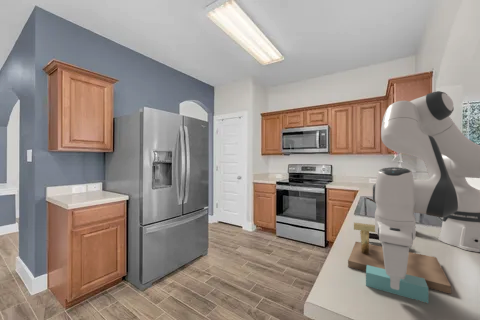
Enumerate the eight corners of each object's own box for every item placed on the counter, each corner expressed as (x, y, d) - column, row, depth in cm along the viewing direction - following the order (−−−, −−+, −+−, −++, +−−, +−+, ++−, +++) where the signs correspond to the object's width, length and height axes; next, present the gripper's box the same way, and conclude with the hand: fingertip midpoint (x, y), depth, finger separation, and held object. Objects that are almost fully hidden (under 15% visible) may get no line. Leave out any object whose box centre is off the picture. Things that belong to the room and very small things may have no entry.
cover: (424, 293, 55) (424, 278, 55) (428, 304, 51) (428, 288, 51) (366, 278, 62) (366, 264, 62) (365, 286, 58) (365, 272, 58)
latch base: (436, 263, 71) (436, 257, 71) (451, 293, 54) (451, 286, 54) (355, 246, 84) (355, 241, 84) (348, 266, 68) (348, 260, 68)
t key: (353, 243, 82) (353, 218, 82) (374, 246, 79) (374, 220, 79) (353, 251, 75) (353, 224, 75) (377, 255, 71) (377, 226, 71)
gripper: (381, 217, 67) (381, 261, 67) (378, 236, 50) (379, 294, 50) (406, 220, 63) (406, 266, 63) (413, 242, 46) (413, 304, 46)
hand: (394, 279), depth 56 cm, fingers open, 8 cm apart
